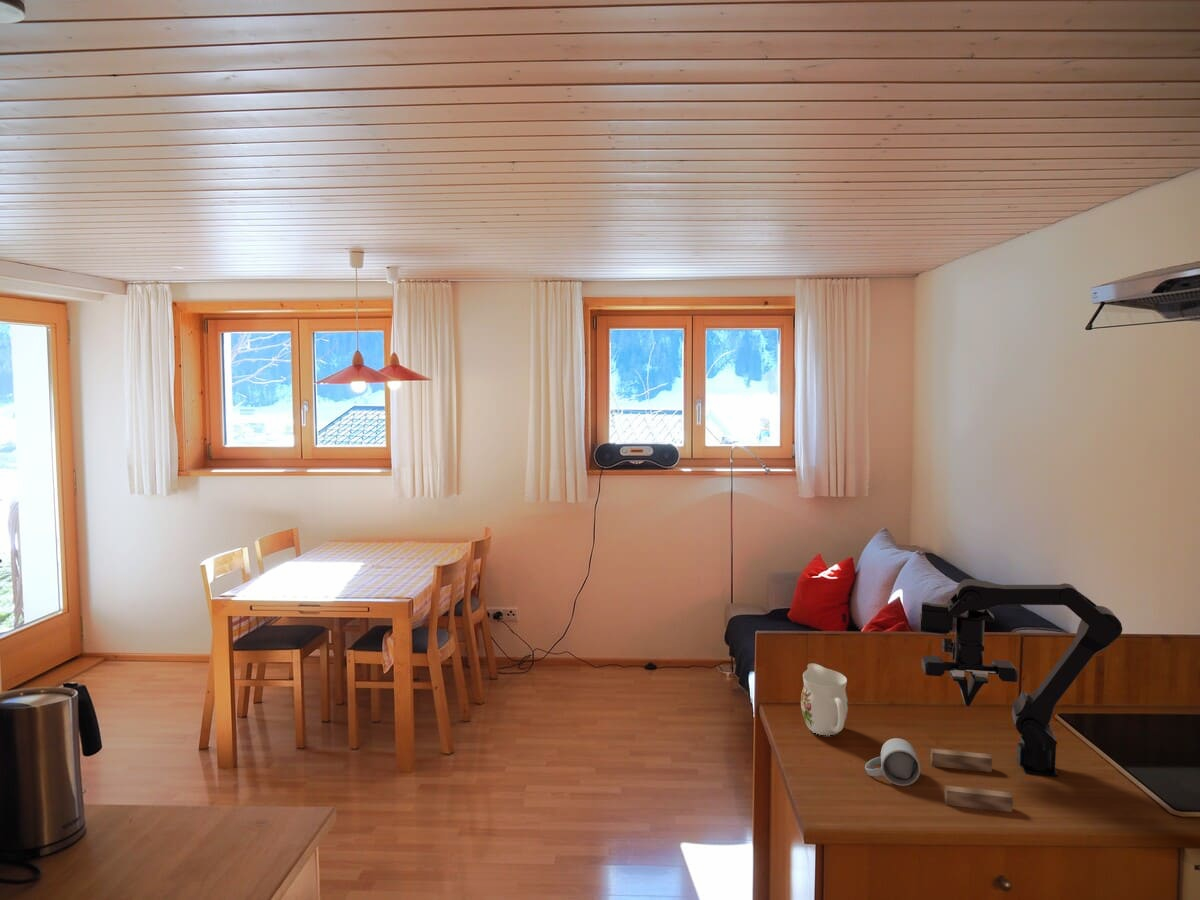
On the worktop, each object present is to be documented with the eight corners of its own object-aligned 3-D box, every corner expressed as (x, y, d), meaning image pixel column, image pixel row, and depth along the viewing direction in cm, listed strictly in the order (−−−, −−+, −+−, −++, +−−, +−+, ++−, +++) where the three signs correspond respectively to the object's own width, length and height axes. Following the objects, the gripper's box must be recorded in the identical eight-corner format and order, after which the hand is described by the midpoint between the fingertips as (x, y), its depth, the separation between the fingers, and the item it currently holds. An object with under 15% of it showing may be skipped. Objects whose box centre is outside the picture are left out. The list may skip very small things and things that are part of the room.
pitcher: (819, 751, 177) (820, 693, 176) (789, 717, 195) (790, 664, 194) (864, 747, 179) (865, 690, 178) (831, 714, 197) (832, 661, 195)
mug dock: (989, 767, 169) (989, 754, 169) (1012, 812, 152) (1012, 797, 152) (930, 761, 172) (930, 748, 172) (946, 804, 155) (946, 790, 154)
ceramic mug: (915, 769, 169) (915, 735, 168) (920, 788, 161) (920, 752, 160) (863, 764, 172) (863, 731, 171) (866, 783, 164) (866, 748, 163)
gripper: (1005, 628, 177) (1003, 694, 179) (918, 623, 182) (916, 687, 183) (1019, 645, 166) (1016, 715, 168) (926, 639, 171) (924, 707, 172)
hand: (967, 705), depth 173 cm, fingers closed
